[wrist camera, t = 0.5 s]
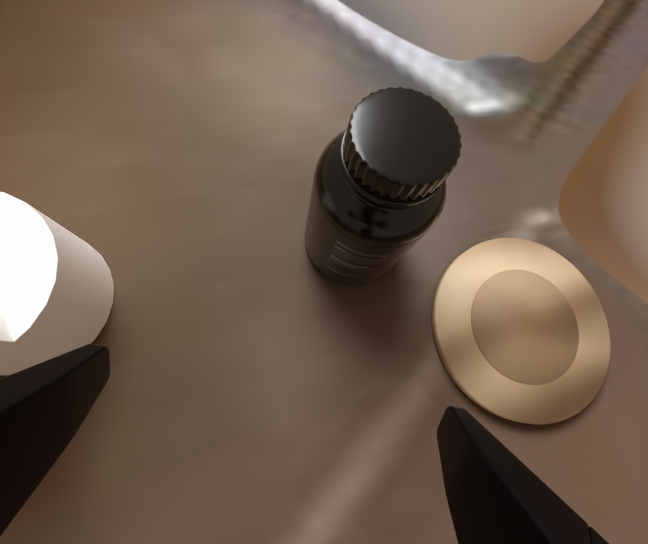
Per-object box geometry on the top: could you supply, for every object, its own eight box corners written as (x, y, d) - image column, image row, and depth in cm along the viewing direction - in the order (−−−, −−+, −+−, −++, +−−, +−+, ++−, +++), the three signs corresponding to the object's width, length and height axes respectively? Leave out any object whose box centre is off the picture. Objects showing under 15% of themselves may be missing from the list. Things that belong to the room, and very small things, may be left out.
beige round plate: (634, 365, 26) (646, 365, 25) (498, 461, 23) (507, 465, 22) (532, 216, 28) (541, 211, 27) (398, 285, 25) (402, 282, 24)
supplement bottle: (414, 243, 26) (519, 145, 15) (351, 306, 24) (416, 249, 13) (349, 181, 27) (401, 40, 15) (283, 237, 25) (286, 124, 14)
